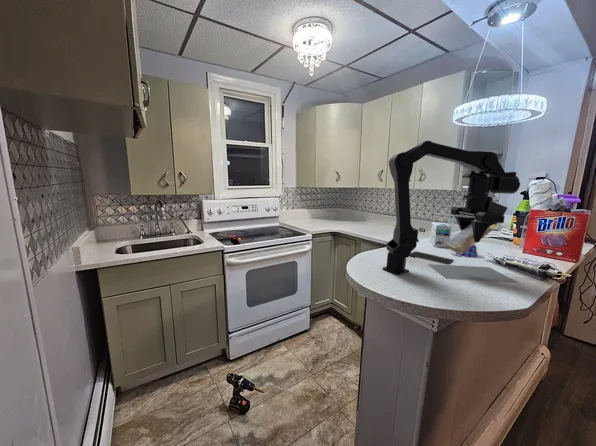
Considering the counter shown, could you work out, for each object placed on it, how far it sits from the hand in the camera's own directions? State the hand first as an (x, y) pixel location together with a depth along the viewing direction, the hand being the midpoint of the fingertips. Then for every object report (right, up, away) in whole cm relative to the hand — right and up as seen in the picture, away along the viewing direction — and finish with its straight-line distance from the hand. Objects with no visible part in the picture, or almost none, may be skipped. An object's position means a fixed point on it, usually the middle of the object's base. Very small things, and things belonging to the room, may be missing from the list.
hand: (470, 239), depth 83 cm
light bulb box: (+13, -6, +42) cm, 44 cm away
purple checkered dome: (+16, -9, +26) cm, 31 cm away
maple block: (-5, -3, +1) cm, 6 cm away
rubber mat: (+1, -12, +3) cm, 12 cm away
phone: (-4, -10, +19) cm, 21 cm away
